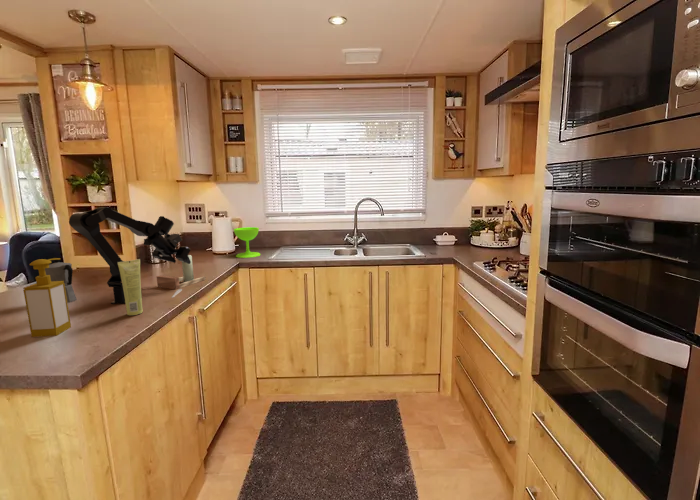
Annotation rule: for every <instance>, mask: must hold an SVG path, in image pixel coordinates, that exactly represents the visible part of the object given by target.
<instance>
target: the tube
mask: <svg viewBox="0 0 700 500" xmlns="http://www.w3.org/2000/svg"><path fill="white" fill-rule="evenodd" d="M123 261H124V262H118V267H119V271H120V275H121V280H122V285H123V291H124V297H125V303H124V304H125V308H126V309H125V310H126V315H127V316H137V315H141V314H142V313H143V311H144V310H143V299H142V285H141V284H142V283H141V282H142V281H141V258H138V259H131V260H126V261H125V260H123Z"/></svg>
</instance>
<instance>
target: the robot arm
mask: <svg viewBox="0 0 700 500" xmlns="http://www.w3.org/2000/svg"><path fill="white" fill-rule="evenodd" d="M105 220H107V221H110V222H111V223H114V224H116V225H119V226H122V227H124V228H126V229H128V230H129V231H130V232H131V233H132V234H135V235H136V236H137V237H146V238H144V239H143V245H144V246H152V247H153V248H154V250H153V252H152V254H151V256H152V257H153V258H154V259H158V260H162V261H166V262H169V263H177V260H178V261H179V262H181V263H182V262H185V263H188V264H190V263H191V261H190V259H189V257H188V255H190V252H191V248H190V247H188V246H184V245H183V246H179V248H177V247H178V244H179V243H181V242H183V238H182V237H181V235H180V233H170V231H171V230H172V228H173V227H174V225H175V223H174V221H173V220H171V219H169V218H168V217H165V216H163V215H161V216H158V219H157V221H156V222H155V224H153V223H151V222H148V221H143V220H137V219H135V218H132V217H130V216H128V215H125V214H123V213H121V212H118V211H116V210H114V209H112V208H110V207H108V206H99V207H97V208H95V209H91V210H88V211H83V212H82V213H81V212H78V213H77V212H76V213H75V212H74V213H73V214H71V215H70V217H69V219H68V223H69V226H70V228H73V229H74V230H75V231H76V232H77V233H79V234H80V235H82V236H83V237H85V238H86V239H87V240H88V241H89V242H90V243H91V245H92V246H93V247H94V249H95V250H96V251H97V253H99V255H100V256H101V257H102V259H103V260H104V261H105V262H106V264H107V265H108V266H109V273H110V274H111V276H110V278H109V279H108V280H107V282H106V284H107V286H108V287H109V288H112V290H113V298H114V299H113V301H111V302H110V304H112V305H113V304H126V303H125V297H124V291H123V285H122V280H121V275H120V271H119V267H118V262H124V261H125V260H122V258H121V257H120V256H119V254H118V253H117V252H116V250H115V249H114V248H113V246H112V245H111V244H110V243H109V241H108V240H107V239H106V238H105V236H104V235H103V233H102V232H101V225H100V223H102V222H103V221H105ZM173 255H174V256H175V257H174V256H173ZM176 259H177V260H176Z"/></svg>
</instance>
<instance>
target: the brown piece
mask: <svg viewBox="0 0 700 500" xmlns="http://www.w3.org/2000/svg"><path fill="white" fill-rule="evenodd" d="M206 278H207V277H206V276H201V277H197V278H194V280H191V281H187V282H184V279H183V276H181V277H178V276H168V275H157V276H156V284H157V288H160V289H161V288H163V289H171V290H172V289H173V290H179V289H182V288H184V287H187V286H191V285H193V284H196V283H200V282H203V281H206V280H207V279H206ZM180 282H181V283H180Z"/></svg>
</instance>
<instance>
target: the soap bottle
mask: <svg viewBox="0 0 700 500" xmlns="http://www.w3.org/2000/svg"><path fill="white" fill-rule="evenodd" d="M55 260H59V261H61V258H60V257H53V258H48V259H46V258H44V259H43V258H41V259H40V258H39V259H36V260H33V261H32V262H31V263H29V266H32V268H33V270H38V275H37V276H35V282H36V283H33V284H31V285H28V286H25V287H23V295H24V301H25V308H26V313H27V319H28V326H29V330H30V337H31V338H35V337H37V338H41V337H55V336H59V335H60V334H62V333H63V332H65V331H67V330H68V329H70V328H72V324H71V318H70V317H71V316H70V311H69V303H67V297H66V291H65V284H64V283H63V282H64V281H51V278H50V275H46V272H45V268H49V265H50V264H53V263H52V261H55Z"/></svg>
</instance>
